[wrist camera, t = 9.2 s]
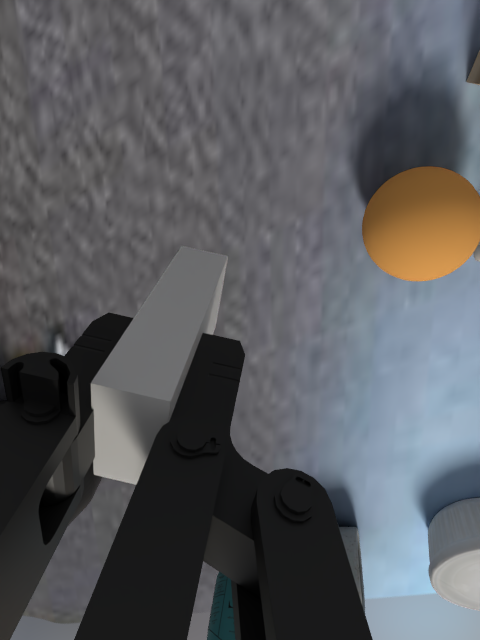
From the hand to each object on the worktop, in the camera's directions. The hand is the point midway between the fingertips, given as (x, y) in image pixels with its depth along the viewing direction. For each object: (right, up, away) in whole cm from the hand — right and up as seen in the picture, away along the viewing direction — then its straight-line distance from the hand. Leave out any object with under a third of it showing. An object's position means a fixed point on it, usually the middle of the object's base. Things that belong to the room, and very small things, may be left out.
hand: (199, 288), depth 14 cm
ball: (+11, +4, +9) cm, 15 cm away
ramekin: (+25, -21, +26) cm, 41 cm away
